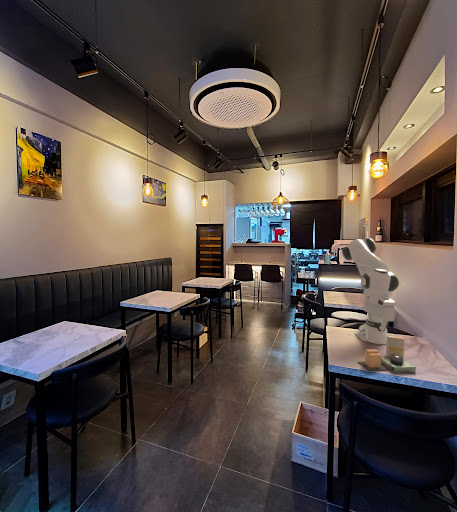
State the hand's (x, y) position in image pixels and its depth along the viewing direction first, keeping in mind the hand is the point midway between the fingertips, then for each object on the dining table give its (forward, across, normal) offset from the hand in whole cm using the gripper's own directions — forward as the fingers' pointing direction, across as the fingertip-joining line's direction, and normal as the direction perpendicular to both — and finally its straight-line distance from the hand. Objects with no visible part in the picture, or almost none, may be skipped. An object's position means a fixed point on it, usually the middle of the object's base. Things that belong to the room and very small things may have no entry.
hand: (376, 324), depth 134 cm
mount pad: (+24, 0, -1) cm, 24 cm away
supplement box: (+24, -9, +19) cm, 32 cm away
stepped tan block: (+23, 0, -1) cm, 23 cm away
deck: (+24, +1, +12) cm, 27 cm away
